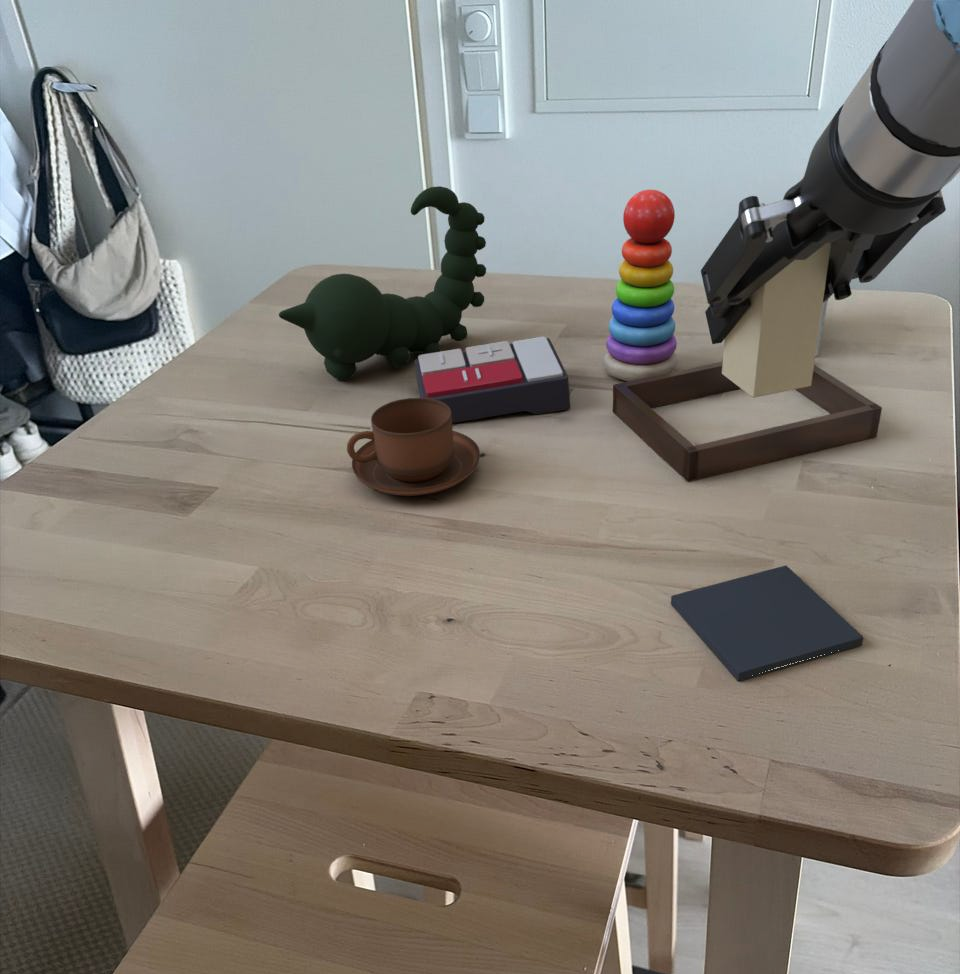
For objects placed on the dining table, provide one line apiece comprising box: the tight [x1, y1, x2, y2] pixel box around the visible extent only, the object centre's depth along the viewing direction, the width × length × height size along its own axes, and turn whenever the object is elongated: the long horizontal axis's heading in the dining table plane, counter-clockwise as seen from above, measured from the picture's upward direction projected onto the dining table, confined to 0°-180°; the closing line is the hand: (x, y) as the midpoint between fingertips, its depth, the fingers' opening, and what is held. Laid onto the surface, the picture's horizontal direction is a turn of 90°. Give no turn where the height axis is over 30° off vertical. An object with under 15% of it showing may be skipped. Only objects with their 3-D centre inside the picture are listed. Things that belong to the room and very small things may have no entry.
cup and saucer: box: [346, 397, 481, 497], centre depth 95 cm, size 12×12×6 cm
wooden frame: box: [612, 360, 883, 483], centre depth 100 cm, size 20×16×3 cm
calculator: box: [413, 336, 571, 424], centre depth 109 cm, size 11×4×15 cm
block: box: [722, 243, 831, 399], centre depth 77 cm, size 5×5×11 cm
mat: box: [670, 565, 864, 682], centre depth 76 cm, size 10×10×1 cm
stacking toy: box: [603, 189, 678, 382], centre depth 107 cm, size 8×8×19 cm
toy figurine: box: [278, 185, 487, 381], centre depth 113 cm, size 9×19×25 cm
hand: (750, 321), depth 81 cm, fingers closed on block, 5 cm apart
